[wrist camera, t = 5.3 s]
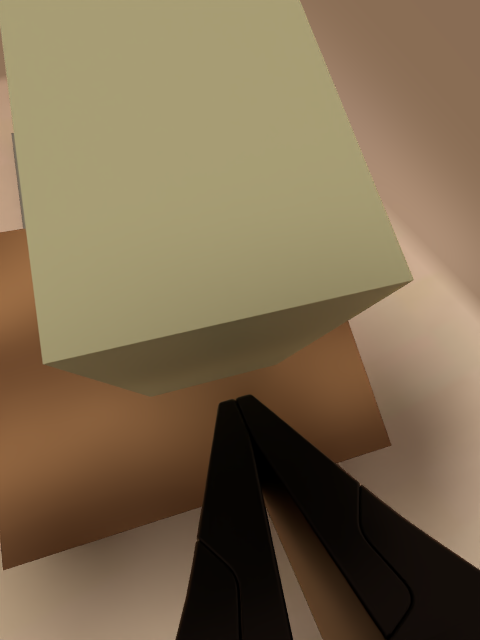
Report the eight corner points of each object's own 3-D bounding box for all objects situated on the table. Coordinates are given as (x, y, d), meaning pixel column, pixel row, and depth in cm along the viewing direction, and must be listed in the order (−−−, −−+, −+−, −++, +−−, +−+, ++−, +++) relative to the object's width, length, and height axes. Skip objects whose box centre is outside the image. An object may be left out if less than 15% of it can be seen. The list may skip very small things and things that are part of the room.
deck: (361, 440, 16) (391, 445, 13) (39, 541, 13) (2, 570, 11) (287, 214, 18) (300, 184, 16) (8, 263, 16) (-26, 236, 13)
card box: (276, 364, 13) (413, 279, 5) (150, 396, 13) (43, 364, 4) (232, 212, 15) (277, -56, 6) (118, 232, 14) (-10, -49, 6)
